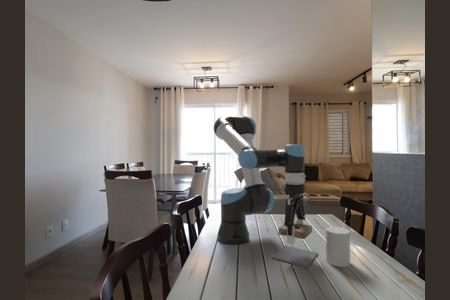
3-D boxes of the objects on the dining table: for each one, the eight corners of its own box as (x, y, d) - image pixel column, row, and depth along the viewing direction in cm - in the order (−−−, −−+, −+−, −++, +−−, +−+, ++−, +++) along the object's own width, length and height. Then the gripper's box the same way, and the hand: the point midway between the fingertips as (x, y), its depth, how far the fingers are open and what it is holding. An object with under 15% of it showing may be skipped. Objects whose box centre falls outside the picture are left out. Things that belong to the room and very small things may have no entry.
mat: (271, 258, 99) (271, 256, 99) (284, 246, 110) (284, 245, 110) (307, 267, 91) (307, 266, 91) (317, 254, 103) (317, 252, 103)
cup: (352, 267, 91) (352, 234, 91) (328, 265, 92) (328, 233, 92) (346, 258, 99) (346, 227, 99) (324, 256, 100) (324, 226, 100)
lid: (278, 234, 99) (278, 224, 99) (288, 227, 107) (287, 219, 107) (304, 239, 93) (304, 229, 94) (312, 231, 102) (311, 222, 102)
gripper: (294, 187, 89) (295, 250, 89) (312, 180, 108) (313, 233, 108) (274, 185, 93) (275, 246, 93) (295, 179, 112) (295, 230, 112)
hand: (295, 239), depth 100 cm, fingers closed on lid, 10 cm apart
